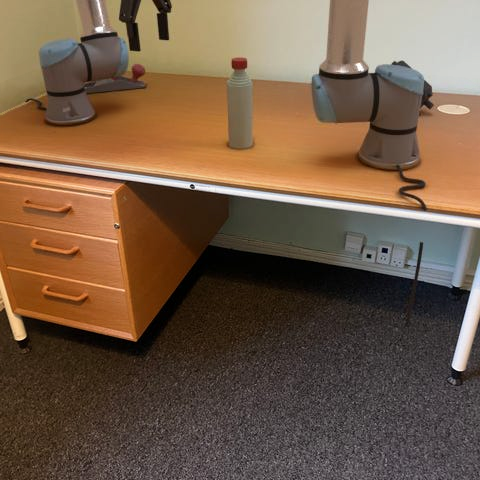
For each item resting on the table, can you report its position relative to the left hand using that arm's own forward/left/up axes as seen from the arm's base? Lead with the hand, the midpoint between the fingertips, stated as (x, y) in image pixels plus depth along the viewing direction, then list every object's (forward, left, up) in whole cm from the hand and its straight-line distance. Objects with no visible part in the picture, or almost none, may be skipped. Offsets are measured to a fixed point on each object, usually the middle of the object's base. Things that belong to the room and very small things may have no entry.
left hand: (150, 45), depth 135 cm
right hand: (+27, +52, +7) cm, 59 cm away
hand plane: (-49, +40, -27) cm, 69 cm away
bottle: (+21, +9, -27) cm, 35 cm away
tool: (+56, +56, -27) cm, 84 cm away
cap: (+21, +9, -4) cm, 23 cm away
